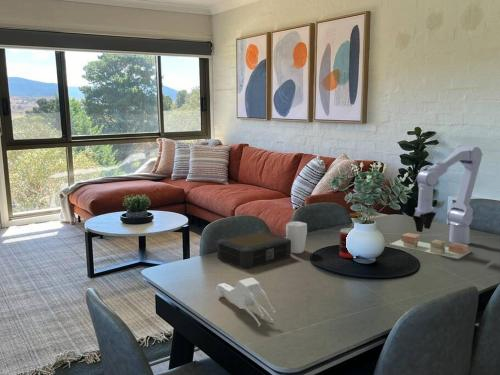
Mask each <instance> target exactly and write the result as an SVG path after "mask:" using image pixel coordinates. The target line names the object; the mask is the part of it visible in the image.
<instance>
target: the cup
mask: <svg viewBox="0 0 500 375" xmlns="http://www.w3.org/2000/svg"><path fill="white" fill-rule="evenodd" d="M285 226H286V227H285V234H286V235H285V236H286V238H287V239H289V240H291V254H301V253H304V252H305V246H306V242H307V241H306V240H307V234H308V225H307V223H306V222H303V221H289V222H288V221H287V223H286V225H285Z"/></svg>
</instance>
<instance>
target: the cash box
mask: <svg viewBox="0 0 500 375" xmlns="http://www.w3.org/2000/svg"><path fill="white" fill-rule="evenodd" d="M291 254H292V253H291V240H289V239H287V237H283V236H280V235H276V234H273V233H270V232H267V231H263V230H259V231H254V232H253V231H252V232H249V233H244V234H240V235H235V236H231V237H227V238H222V239H219V240H217V241H216V257H217V259H219V260H221V261H224V262H227V263H229V264H230V265H234V266H237V267H239V268H241V269H243V270H248V269H253V268H256V267H259V266H262V265H266V264H267V265H268V264H271V263H273V262H278V261H281V260H285V259H289V258H291V256H292V255H291Z"/></svg>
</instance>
